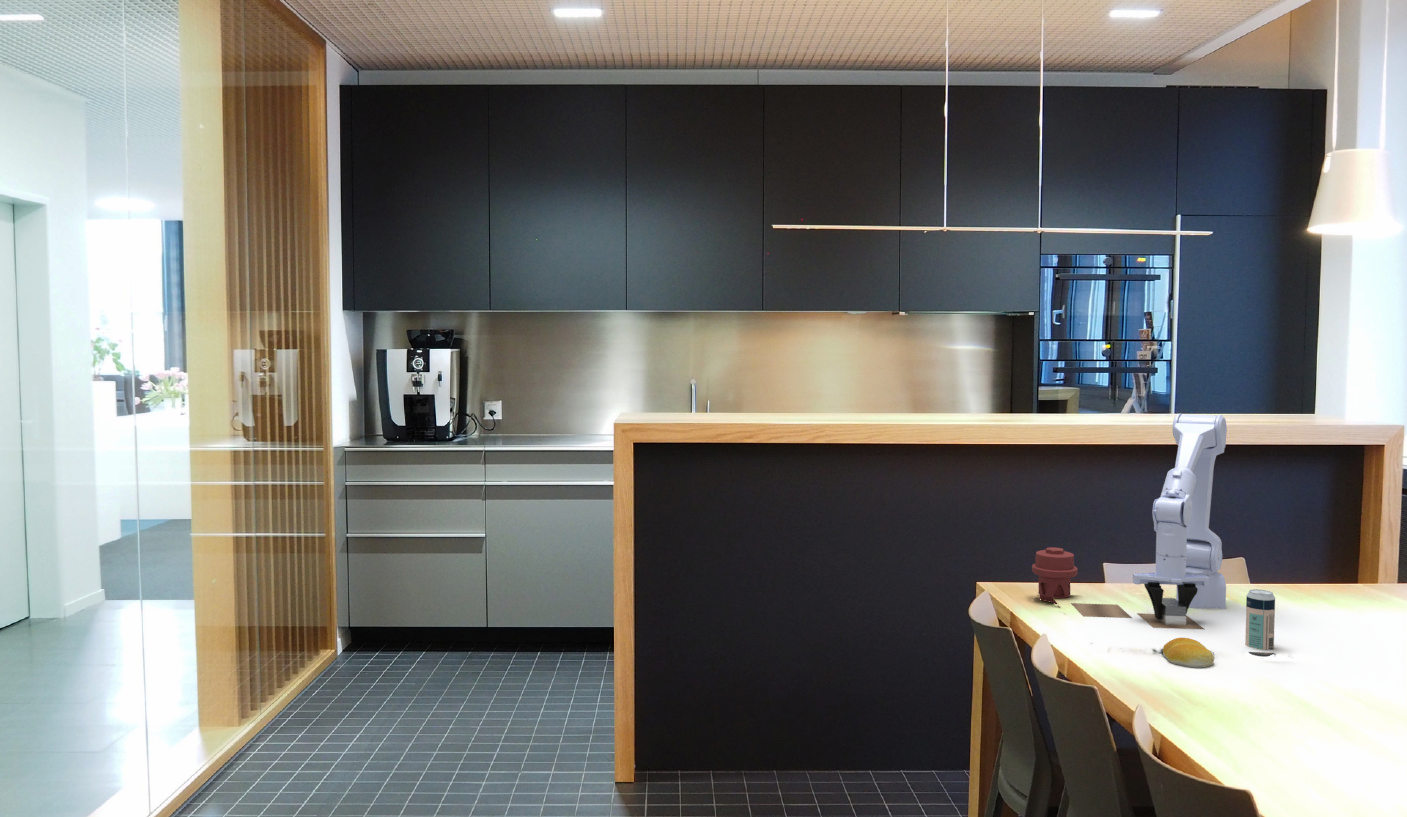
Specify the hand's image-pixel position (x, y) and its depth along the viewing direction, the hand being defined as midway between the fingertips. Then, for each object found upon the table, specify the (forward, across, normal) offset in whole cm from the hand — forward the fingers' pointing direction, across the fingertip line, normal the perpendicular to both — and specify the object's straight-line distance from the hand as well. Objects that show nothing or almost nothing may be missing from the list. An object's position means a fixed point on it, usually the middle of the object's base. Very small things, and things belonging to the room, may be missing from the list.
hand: (1169, 618), depth 197 cm
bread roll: (+2, -4, -22) cm, 22 cm away
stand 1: (+2, -12, +7) cm, 14 cm away
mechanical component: (+2, -19, +20) cm, 28 cm away
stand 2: (+2, 0, 0) cm, 2 cm away
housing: (0, 0, 0) cm, 0 cm away
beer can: (+2, +11, -16) cm, 20 cm away
